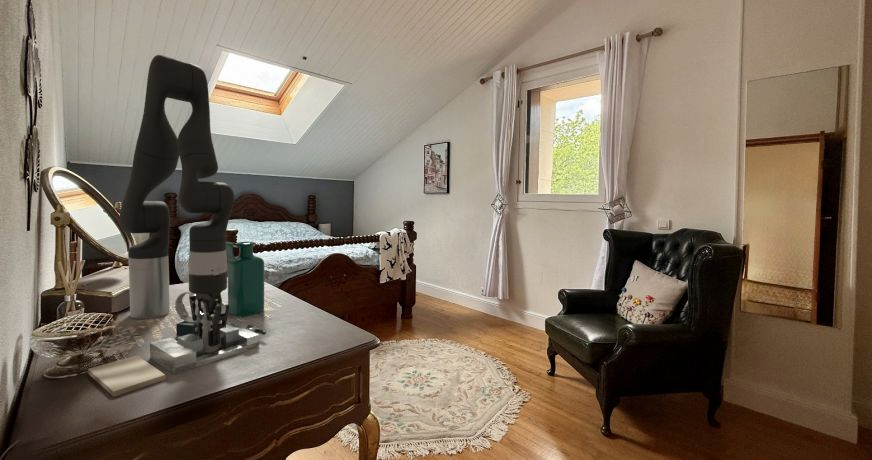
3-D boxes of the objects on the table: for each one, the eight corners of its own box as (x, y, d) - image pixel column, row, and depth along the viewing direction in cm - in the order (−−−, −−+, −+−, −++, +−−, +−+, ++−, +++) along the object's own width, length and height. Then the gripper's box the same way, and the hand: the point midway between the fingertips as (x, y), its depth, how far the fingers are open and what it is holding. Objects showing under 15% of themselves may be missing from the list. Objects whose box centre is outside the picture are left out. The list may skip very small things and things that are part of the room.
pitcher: (252, 306, 121) (252, 239, 119) (266, 311, 116) (267, 241, 114) (220, 313, 113) (220, 241, 111) (234, 319, 108) (234, 244, 106)
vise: (150, 358, 82) (149, 338, 82) (245, 331, 100) (245, 315, 99) (174, 374, 75) (174, 353, 75) (271, 342, 93) (271, 325, 93)
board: (88, 373, 74) (88, 368, 74) (137, 360, 81) (137, 355, 81) (113, 396, 67) (113, 391, 66) (165, 379, 73) (165, 374, 73)
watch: (200, 337, 94) (199, 295, 93) (170, 335, 95) (169, 293, 94) (214, 329, 100) (214, 289, 99) (186, 327, 100) (185, 287, 99)
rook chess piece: (204, 345, 89) (203, 313, 88) (223, 346, 89) (223, 313, 88) (193, 353, 84) (193, 319, 84) (214, 354, 85) (213, 319, 84)
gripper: (175, 267, 86) (176, 339, 87) (206, 277, 78) (207, 356, 80) (210, 263, 92) (210, 331, 94) (241, 272, 84) (241, 345, 86)
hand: (209, 342), depth 87 cm, fingers closed on rook chess piece, 4 cm apart
